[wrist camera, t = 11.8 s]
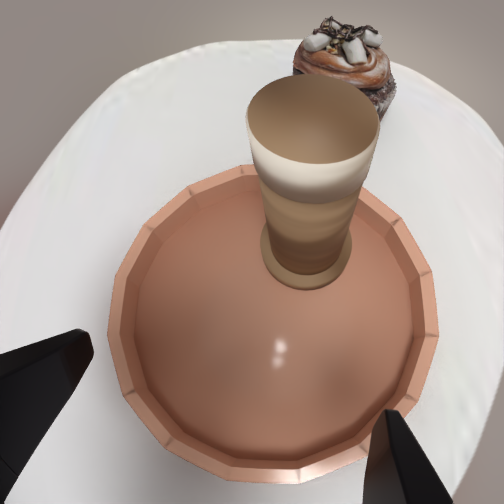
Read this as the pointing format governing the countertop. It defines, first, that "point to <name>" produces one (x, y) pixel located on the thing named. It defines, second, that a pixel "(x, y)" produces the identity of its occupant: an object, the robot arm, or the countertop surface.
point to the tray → (267, 336)
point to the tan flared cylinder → (310, 173)
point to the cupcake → (349, 60)
